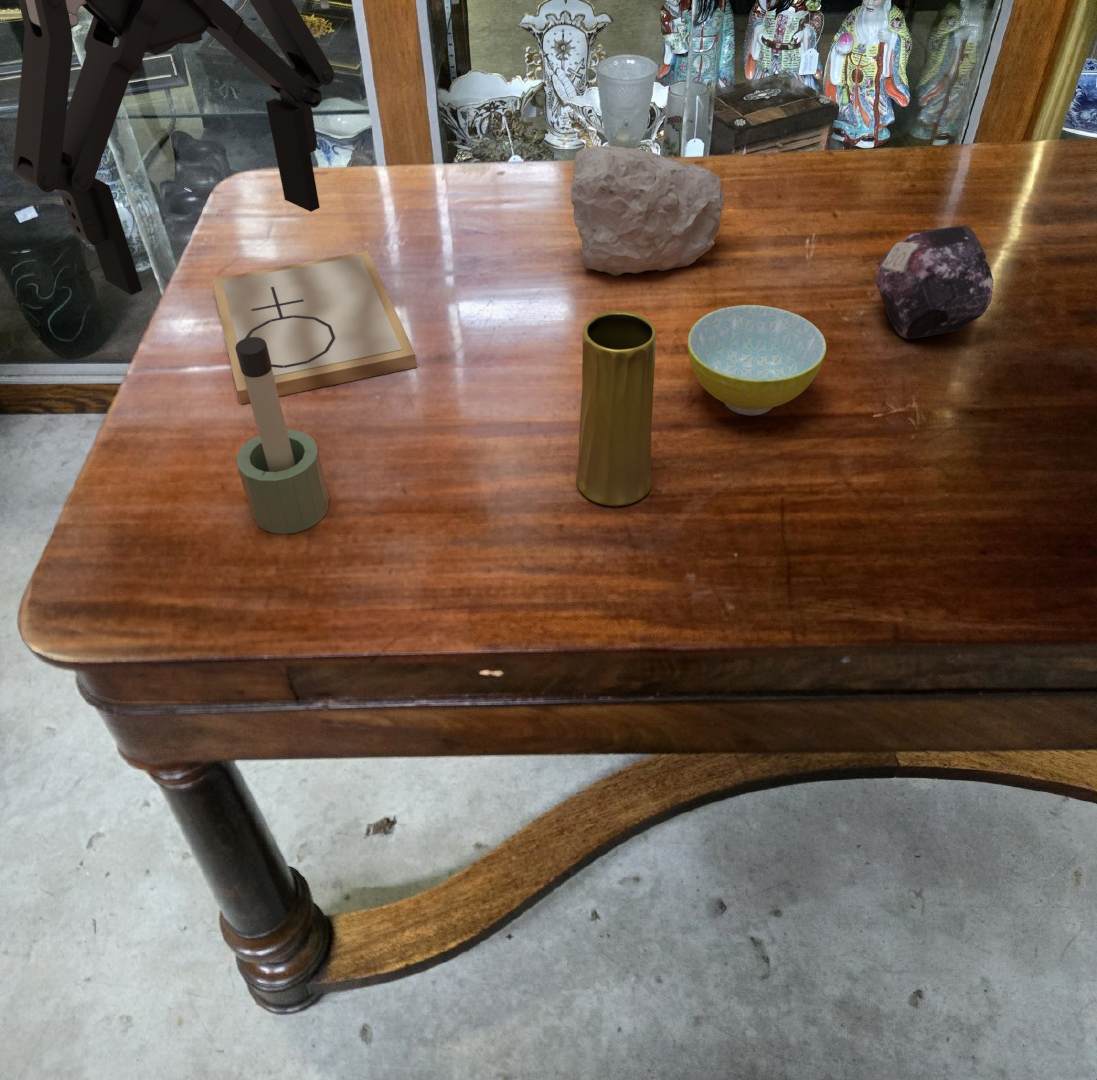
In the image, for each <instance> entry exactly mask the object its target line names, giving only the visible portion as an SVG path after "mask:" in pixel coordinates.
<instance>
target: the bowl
mask: <svg viewBox="0 0 1097 1080" xmlns="http://www.w3.org/2000/svg"><path fill="white" fill-rule="evenodd" d="M687 353H688V359H689V364H690V366H691V369H692V371H693V374H694V376H695V377H696V379H697V380H698V382H699V384H700V385H701V386H702V388H703V389H704V390H705V391H707V392H708V394H710V395H711V396H712V397H713V398H715V399H717V400H718V401H720V402H722V403H724V405H725V407H727V409H728V410H730V411H732V412H734V413H736V414H740V415H744V416H759V415H763V414H766V413H768V412H769V411H771V410H772V409H773V408H775V407H779V406H782V405H785V404H786V403H788V402H790V401H792V400H794V399H796V398H797V397H798V396H799V395H801V394H803V392H805V390H806V389H808V387H809V386H810V385H811V384H812V382H813V381H814V380H815V378H816V376H817V375H818V373H819V372H820V370H821V367H822V365H823V362H824V359H825V356H826V353H827V342H826V339H825V337H824V335H823V333H822V332H821V330H820V329H819V328H818V327H817V326H816V325H815V324H813V323H812V322H811V321H809V320H808V319H807V318H804V317H803V316H802V315H799V314H797V313H794V312H792V311H789V310H784V309H781V308H778V307H774V306H767V305H757V304H752V305H751V304H743V305H733V306H728V307H723V308H719V309H716V310H713V311H711V312H709V313H707V314H704V315H703V316H701V317H700V318H699V319H698V320H697V321H696V322H695V323H694V324H693V325H692V327H691V328H690V330H689V333H688V337H687Z"/></svg>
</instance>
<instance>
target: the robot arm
mask: <svg viewBox="0 0 1097 1080" xmlns="http://www.w3.org/2000/svg"><path fill="white" fill-rule="evenodd" d="M17 1H18V4H19V9H20V14H21V17H22V22H23V26H24V36H23V46H22V47H23V48H22V60H21V71H20V83H19V93H18V104H17V106H18V107H17V117H16V127H15V128H16V129H15V141H14V150H13V151H14V153H13V164H12V169H13V173H14V175H15V176H16V177H17V178H19V179H20V180H22V181H24V182H26V183H27V184H29V185H31V186H33V187H35V188H36V189H38V190H40V191H42V192H44V193H52V192H55V191H57V190H58V192H59V194H60V197H61V199H62V202H63V205H64V208H65V212H66V213H67V215H68V216H67V217H68V219H69V221H70V225H71V228H72V230H73V233H74V234H76V235H77V236H78V238H79V239H80V240H83V241H84V242H86V243H88V244H90V245H91V246H93V247H94V249H95V252H96V255H97V259H98V261H99V264H100V267H101V269H102V273H103V276H104V278H105V281H107V282H108V283H110V284H112V285H113V286H115V287H117V288H118V289H120V290H122V291H124V293H127V294H129V295H130V296H133V295H136V294H138V293H139V292H142V291H143V287H142V284H141V281H140V278H139V275H138V272H137V268H136V265H135V261H134V258H133V256H132V252H131V249H130V246H129V243H128V239H127V237H126V233H125V230H124V227H123V224H122V220H121V218H120V215H119V212H118V211H119V210H118V208H117V204H116V203H115V199H114V196H113V193H112V190H111V189H112V188H111V187H110V185H109V184H107V183H106V182H104V181H102V180H101V179H98V178H96V176H97V173H98V170H99V167H100V164H101V161H102V159H103V157H104V153H105V151H106V147H107V145H108V142H109V139H110V136H111V133H112V129H113V127H114V125H115V122H116V119H117V117H118V114H119V111H120V107H121V105H122V102H123V99H124V97H125V94H126V90H127V88H128V86H129V82H130V80H131V77H132V75H134V74H136V73H138V71H139V70H140V68H141V65H142V63H143V60H144V57H145V55H146V53H147V54H150V55H153V56H158V55H161V54H164V53H166V52H168V51H170V50H171V49H173V48H174V47H175V46H177V45H178V44H186V45H187V44H188V45H190V44H194V43H197V42H200V41H203V35H204V34H205V33H208V34H209V35H210V36H211V37H212V38H214V40H216V41H217V42H218V43H219V44H220V45H221V46H222V47H224V48H225V49H226V50H227V51H228V52H229V53H231V54H232V55H233V57H235V58H236V59H237V60H238V61H239V62H240V63H241V64H243V66H245V67H246V68H247V69H249V70H250V72H252V73H253V74H254V75H255V76H256V77H258V78H259V79H260V80H261V81H262V82H263V83H264V84H265V85H266V86H267V87H269V88H270V89H271V90H272V91H273V92H274V93H276V95H278V96H279V98H280V99H279V98H276V97H274V98H272V99H269V100H266V101H265V105H266V111H267V115H268V121H269V126H270V131H271V136H272V141H273V147H274V151H275V152H274V153H275V156H276V162H277V167H278V171H279V177H280V182H281V183H280V184H281V188H282V193H283V197H284V201H286V202H289V203H291V204H293V205H295V206H297V207H300V208H302V209H304V210H306V211H309V212H310V213H312V212H314V211H316V210H318V209H320V208H321V207H320V201H319V196H318V188H317V184H316V177H315V173H314V165H313V160H312V155H311V153H313V152H316V151H317V145H318V139H317V134H316V127H315V120H314V115H313V109H316V108H317V107H319V105H321V102H322V100H323V95H322V91H321V90H320V88H321V87H322V86H330V85H331V84H332V83H333V81H334V80H335V79H334V78H335V70H334V68H333V66H332V65H331V63H330V61H329V60H328V58H327V56H326V54H324V52H323V50H322V48H321V47H320V45H319V43H318V42H317V40H316V38H315V36H314V35H313V33H312V31H311V29H310V28H309V26H308V25H307V23H306V21H305V20H304V19H303V16H302V15H301V13H300V11H299V9H298V8H297V6H296V5H295V3H294V2H293V0H248V1H249V2H250V4H251V6H252V7H253V9H254V10H255V11H256V13H257V15H258V16H259V18H260V19H261V21H262V22H263V24H264V26H265V27H266V29H267V30H268V32H269V34H270V35H271V36H272V38H273V40H274V41H275V43H276V44H277V46H278V48H279V49H280V51H281V52H282V54H283V56H284V57H285V59H286V60H287V62H288V63H289V64H288V63H287V62H286V61H285V60H284V59H283V58H282V57H280V55H279V54H278V53H276V52H275V51H274V50H273V49H272V48H271V46H269V45H268V44H267V43H266V42H265V41H264V40H263V39H261V38H260V36H258V35H257V34H256V33H255V32H254V31H253V30H252V29H251V28H250V27H248V26H247V24H246V23H245V22H244V19H243V18H242V17H241V16H240V15H239V14H238V13H237V12H236V11H235V10H234V9H233V8H232V7H231V6H230V5H229V4H228V3H227V2H225V0H17ZM81 7H83V8H84V9H85V10H86V11H87V12H88V13H89V14H90V15H91V16H92V19H91V23H90V25H89V28H88V30H87V34H86V37H85V40H84V45H83V48H84V51H85V57H84V60H83V62H82V65H81V69H80V71H79V74H78V78H77V80H76V83H75V86H74V88H73V92H72V95H71V98H70V101H68V100H69V91H70V81H71V72H72V71H71V70H72V62H73V49H74V44H73V32H72V30H73V29H74V28H75V27H77V26H78V25H79V22H80V19H79V17H78V12H79V9H80V8H81ZM115 39H117V40H118V41H119V42H118V44H117V46H114V43H115ZM68 102H69V103H68Z"/></svg>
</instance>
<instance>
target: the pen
mask: <svg viewBox="0 0 1097 1080" xmlns="http://www.w3.org/2000/svg"><path fill="white" fill-rule="evenodd" d="M235 349H236V353H237V357H238V360H239V364H240V368H241V371H242V373H243V376H244V380H245V383H246V387H247V391H248V394H249V398H250V405H251V409H252V413H253V417H254V420H255V424H256V428H257V431H258V435H260V439H261V443H262V446H263V450H264V454H265V458H266V461H267V465H268V469H269V472H278V471H283V470H287V469H289V468H291V467H293V466H295V461H294V457H293V453H292V449H291V445H290V441H289V437H288V433H287V430H288V429H287V425H286V421H285V416H284V412H283V409H282V404H281V401H280V396H278V392H277V388H276V384H275V379H274V375H273V371H272V364H271V360H270V356H269V352H268V348H267V344H266V341H265V340H264V339H262V338H259V337H249V338H245V339H243V340H241V341H239V342H238V343H237V344H236V347H235Z"/></svg>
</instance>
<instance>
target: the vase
mask: <svg viewBox="0 0 1097 1080" xmlns="http://www.w3.org/2000/svg"><path fill="white" fill-rule="evenodd" d="M656 340H657V329H656V327H655V325H654V323H653V322H652V321H651V320H649V319H648V318H646V317H645V316H643V315H641V314H639V313H636V312H633V311H626V310H609V311H605V312H602V313H598V314H596V315H594V316H592V317H591V318H590V319H589V320H587V321H586V323H585V324H584V326H583V329H582V343H581V344H582V358H581V359H582V360H581V361H582V362H581V363H582V364H581V366H582V367H581V399H580V413H579V431H578V433H579V434H578V460H577V461H578V462H577V463H578V466H577V471H576V476H575V484H576V486H577V488H578V490H579V491H580V493H581V494H582V495H583V496H584V497H585V498H587V499H588V500H589V501H591V502H593V503H595V504H598V505H602V506H606V507H607V506H608V507H623V506H624V507H625V506H629V505H632V504H634V503H637V502H639V501H641V499H643V498H645V496H647V495H648V493H649V492H650V490H651V489H652V485H653V476H652V425H653V407H654V406H653V404H654V386H655V384H654V383H655V367H656V366H655V365H656V342H657V341H656Z"/></svg>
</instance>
